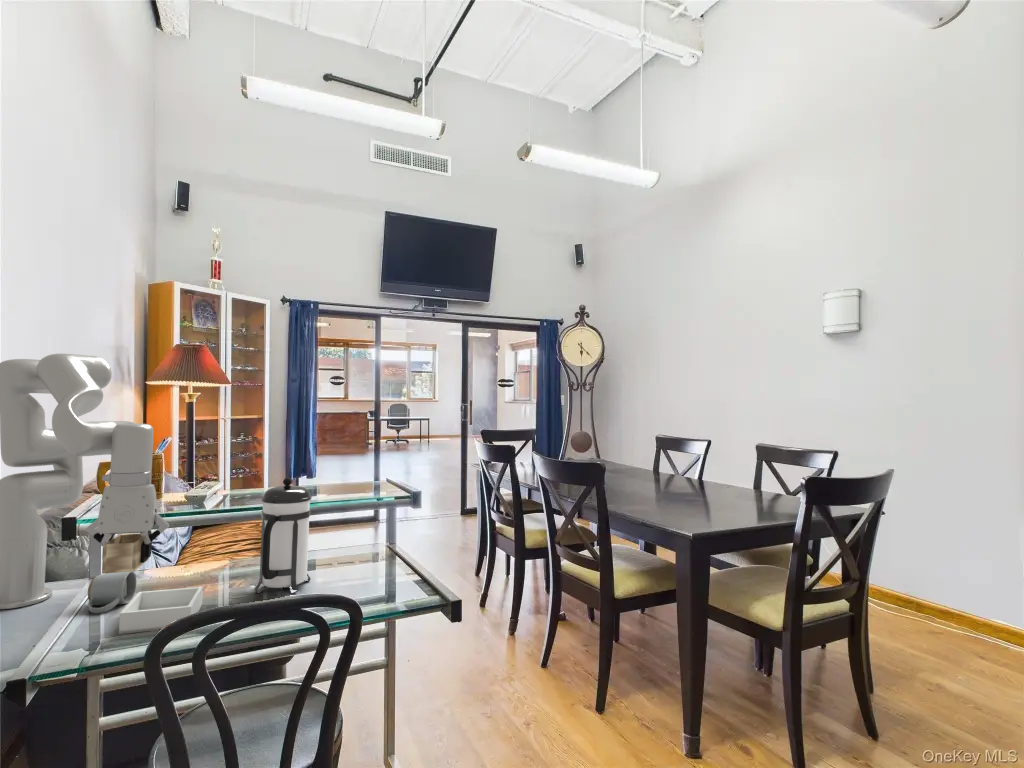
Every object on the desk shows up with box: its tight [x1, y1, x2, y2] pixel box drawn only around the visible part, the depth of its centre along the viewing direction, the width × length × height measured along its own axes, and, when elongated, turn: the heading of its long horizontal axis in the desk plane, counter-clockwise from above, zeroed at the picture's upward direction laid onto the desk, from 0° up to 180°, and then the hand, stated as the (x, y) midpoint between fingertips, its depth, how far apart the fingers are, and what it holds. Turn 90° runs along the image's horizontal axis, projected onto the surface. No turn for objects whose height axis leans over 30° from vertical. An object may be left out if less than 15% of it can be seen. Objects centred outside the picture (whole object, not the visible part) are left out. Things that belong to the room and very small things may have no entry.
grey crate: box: [118, 586, 204, 635], centre depth 126 cm, size 14×14×4 cm
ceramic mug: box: [87, 572, 137, 614], centre depth 133 cm, size 11×8×8 cm
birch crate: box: [101, 533, 150, 574], centre depth 119 cm, size 6×9×6 cm, turn 18°
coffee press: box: [254, 477, 313, 594], centre depth 148 cm, size 17×16×30 cm
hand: (126, 561), depth 119 cm, fingers closed on birch crate, 6 cm apart
